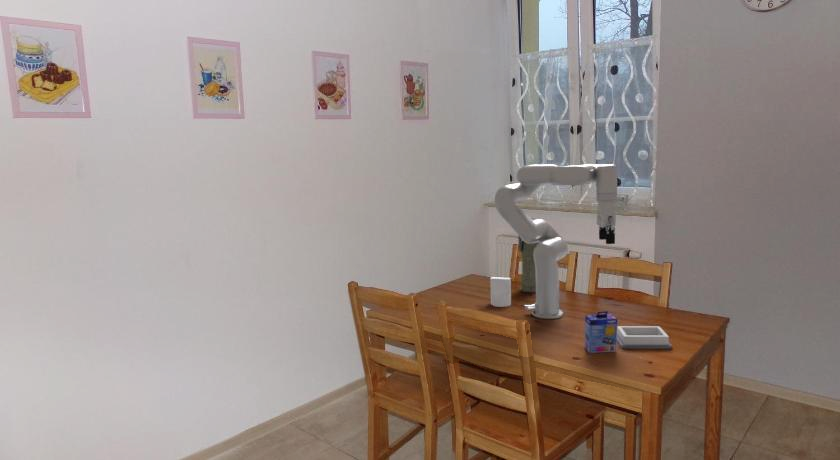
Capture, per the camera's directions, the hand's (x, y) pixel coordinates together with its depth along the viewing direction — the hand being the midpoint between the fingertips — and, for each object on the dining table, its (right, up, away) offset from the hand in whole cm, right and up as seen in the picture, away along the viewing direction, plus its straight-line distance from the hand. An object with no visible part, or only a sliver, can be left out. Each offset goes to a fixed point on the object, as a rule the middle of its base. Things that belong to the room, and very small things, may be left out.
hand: (606, 241), depth 219 cm
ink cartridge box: (-9, -38, -20) cm, 43 cm away
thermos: (-18, -25, +60) cm, 67 cm away
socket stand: (+8, -36, -14) cm, 39 cm away
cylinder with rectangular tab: (-35, -29, +39) cm, 60 cm away
